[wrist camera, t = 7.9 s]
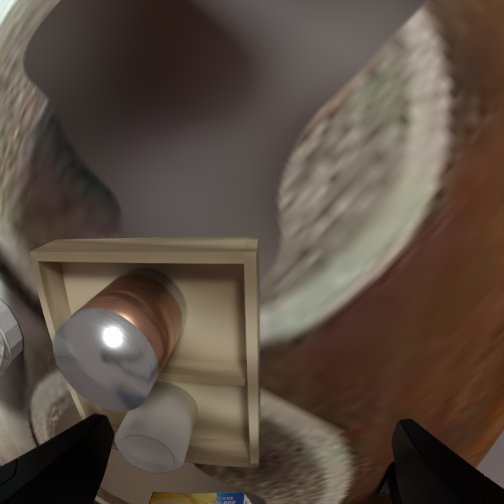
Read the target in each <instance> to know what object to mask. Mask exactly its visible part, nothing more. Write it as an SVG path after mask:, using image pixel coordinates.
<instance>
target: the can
mask: <svg viewBox="0 0 504 504" xmlns="http://www.w3.org/2000/svg"><path fill="white" fill-rule="evenodd" d="M186 320H187V304H186V301H185V298H184V296H183V293H182V292H181V290H180V288H179V287H178V286H177V285H176V283H175V282H174V281H173V280H172V279H170V278H169V277H168V276H166V275H165V274H163V273H161V272H159V271H157V270H154V269H150V268H134V269H131V270H128V271H127V272H125V273H124V274H122V275H121V276H120V277H118V278H116V279H115V280H114V281H112V282H111V283H110V284H109V285H107V286H106V287H105V288H104V289H103V290H101V291H100V292H99V293H98V294H97V295H95V296H94V297H93V298H92V299H91V300H89V301H88V302H87V303H86V304H85V305H83V306H82V307H81V308H80V309H79V310H77V311H76V312H75V313H74V314H73V315H72V316H71V317H70V319H69V320H67V321H66V322H65V323H64V324H63V325H62V326H61V327H59V329H58V330H57V331H56V334H55V336H54V340H53V352H54V357H55V360H56V363H57V365H58V368H59V370H60V371H61V373H62V375H63V376H64V378H65V379H66V381H67V382H68V383H69V384H70V385H71V386H72V388H73V389H74V390H76V391H77V392H78V393H79V394H80V395H81V396H83V397H84V398H85V399H87V400H88V401H90V402H92V403H93V404H95V405H98V406H100V407H102V408H105V409H109V410H113V411H130V410H133V409H136V408H138V407H139V406H141V405H142V404H143V403H144V402H145V400H146V398H147V396H148V395H149V393H150V391H151V389H152V387H153V386H154V385H155V383H156V381H157V379H158V377H159V375H160V373H161V372H162V370H163V368H164V366H165V364H166V362H167V360H168V358H169V356H170V354H171V352H172V350H173V348H174V347H175V345H176V343H177V341H178V339H179V337H180V335H181V332H182V330H183V328H184V326H185V323H186Z"/></svg>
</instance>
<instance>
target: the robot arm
mask: <svg viewBox="0 0 504 504" xmlns="http://www.w3.org/2000/svg"><path fill="white" fill-rule="evenodd" d="M113 441H114V430H113V428H112V426H111V423H110V421H109V419H108V417H107V416H106V415H104V414H100V413H94V414H92V415H90V416H89V417H87V418H85V419H84V420H82V421H80V422H79V423H77V424H75V425H74V426H72V427H70V428H69V429H67V430H65V431H64V432H62V433H60V434H58V435H57V436H55V437H53V438H52V439H50V440H48V441H46V442H45V443H43V444H41V445H39V446H38V447H36V448H34V449H32V450H30V451H29V452H27V453H25V454H23V455H21V456H20V457H18V458H16V459H14V460H12V461H10V462H8V463H7V464H5V465H3V466H1V467H0V504H93V503H94V500H95V497H96V495H97V492H98V490H99V487H100V484H101V482H102V479H103V477H104V474H105V470H106V467H107V463H108V459H109V455H110V451H111V448H112V444H113ZM392 449H393V456H394V463H393V464H392V465H391V467H390V469H389V471H388V473H387V475H386V477H385V479H384V481H383V483H382V485H381V487H380V488H379V490H378V495H379V496H382V495H387V494H390V496H391V500H392V504H504V489H503V488H502V487H500V486H499V485H497V484H496V483H495V482H493V481H492V480H490V479H489V478H488V477H486V476H484V474H482V473H481V472H480V471H478V470H477V469H476V468H474V467H473V466H472V465H470V464H469V463H468V462H466V461H465V460H464V459H462V458H461V457H460V456H459V455H457V454H456V453H455V452H453V451H452V450H451V449H449V448H448V447H447V446H446V445H444V444H443V443H442V442H440V441H439V440H438V439H437V438H435V437H434V436H433V435H431V434H430V433H429V432H428V431H426V430H425V429H424V428H423V427H421V426H420V425H419V424H418V423H416V422H415V421H414V420H412V419H403V420H399V421H398V422H397V424H396V427H395V430H394V433H393V436H392Z"/></svg>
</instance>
